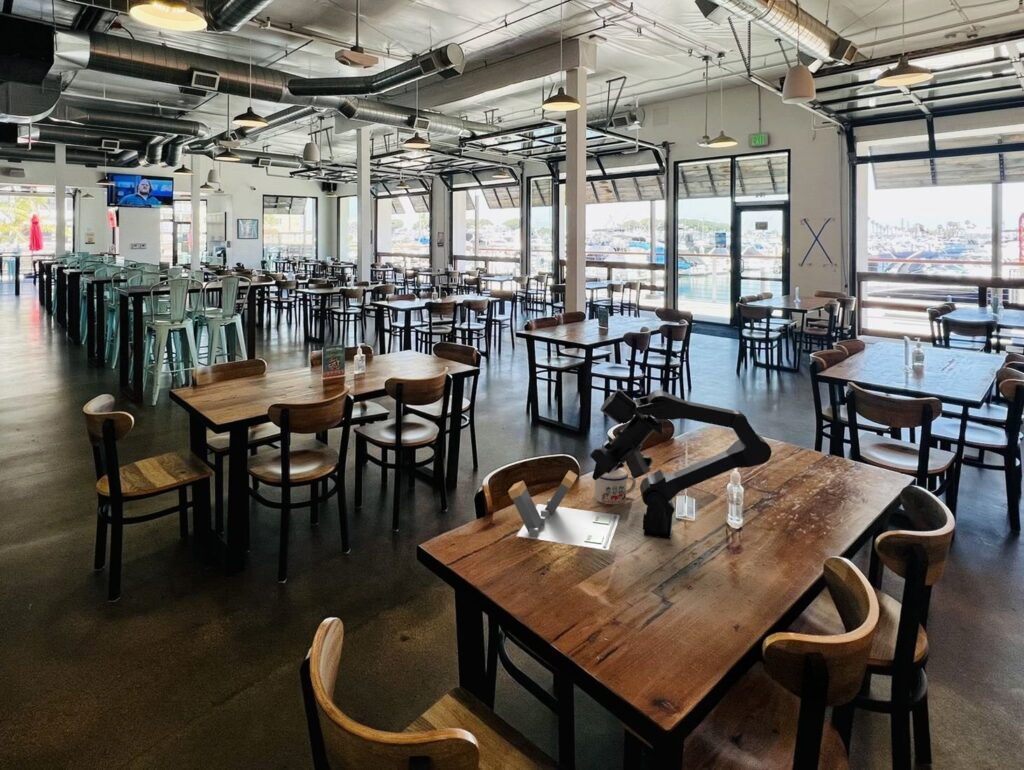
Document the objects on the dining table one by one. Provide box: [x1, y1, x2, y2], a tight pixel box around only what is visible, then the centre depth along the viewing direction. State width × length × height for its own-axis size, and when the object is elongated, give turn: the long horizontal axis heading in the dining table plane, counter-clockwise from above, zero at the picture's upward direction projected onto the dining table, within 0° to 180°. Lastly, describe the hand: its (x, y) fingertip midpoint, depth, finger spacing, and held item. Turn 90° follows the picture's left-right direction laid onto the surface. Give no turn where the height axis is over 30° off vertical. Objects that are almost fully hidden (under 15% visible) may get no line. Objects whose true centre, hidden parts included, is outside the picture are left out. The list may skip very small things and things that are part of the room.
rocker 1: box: [507, 480, 542, 533], centre depth 156 cm, size 3×5×11 cm, turn 163°
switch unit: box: [516, 498, 621, 551], centre depth 160 cm, size 22×20×4 cm
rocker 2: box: [545, 469, 579, 516], centre depth 165 cm, size 3×5×11 cm
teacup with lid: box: [593, 467, 637, 505], centre depth 176 cm, size 12×9×12 cm
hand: (594, 478), depth 161 cm, fingers closed
